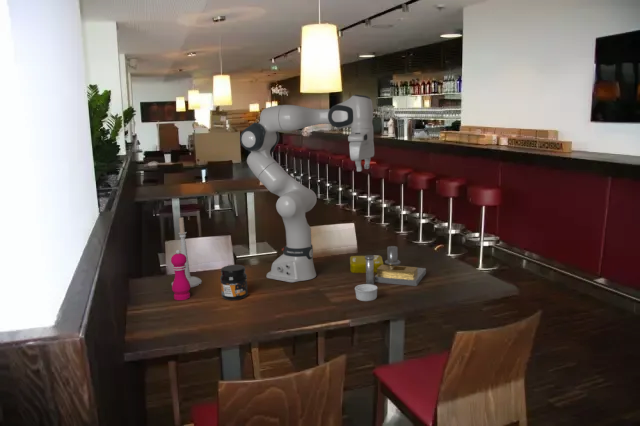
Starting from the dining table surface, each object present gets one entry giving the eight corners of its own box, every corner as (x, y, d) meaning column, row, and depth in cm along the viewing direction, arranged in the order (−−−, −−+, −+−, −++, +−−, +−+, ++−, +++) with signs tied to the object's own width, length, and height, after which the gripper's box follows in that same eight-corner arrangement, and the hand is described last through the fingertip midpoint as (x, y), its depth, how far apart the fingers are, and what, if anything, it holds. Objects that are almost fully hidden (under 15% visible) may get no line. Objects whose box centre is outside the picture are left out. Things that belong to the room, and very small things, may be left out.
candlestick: (178, 290, 222) (171, 220, 216) (167, 283, 232) (161, 216, 227) (206, 283, 229) (201, 216, 224) (194, 277, 239) (189, 212, 234)
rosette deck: (374, 282, 223) (374, 254, 221) (386, 270, 239) (386, 244, 237) (416, 286, 216) (416, 257, 214) (425, 273, 232) (425, 247, 230)
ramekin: (351, 296, 207) (351, 285, 206) (371, 292, 210) (371, 282, 209) (360, 303, 199) (360, 292, 198) (381, 299, 202) (381, 289, 201)
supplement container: (224, 302, 205) (222, 273, 203) (219, 294, 214) (217, 266, 212) (251, 298, 209) (249, 269, 206) (244, 290, 218) (242, 262, 216)
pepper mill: (172, 301, 208) (168, 253, 204) (172, 296, 215) (168, 248, 211) (191, 299, 210) (187, 251, 206) (191, 293, 217) (186, 246, 213)
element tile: (350, 264, 252) (349, 254, 251) (381, 263, 251) (381, 254, 250) (350, 273, 237) (350, 263, 236) (383, 273, 236) (383, 262, 236)
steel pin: (364, 285, 220) (363, 257, 217) (367, 282, 223) (366, 254, 221) (373, 285, 218) (372, 258, 216) (376, 283, 222) (375, 255, 219)
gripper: (363, 134, 222) (364, 167, 224) (346, 137, 203) (347, 172, 206) (377, 134, 219) (378, 167, 222) (361, 136, 201) (362, 172, 203)
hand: (363, 170), depth 214 cm, fingers open, 8 cm apart
